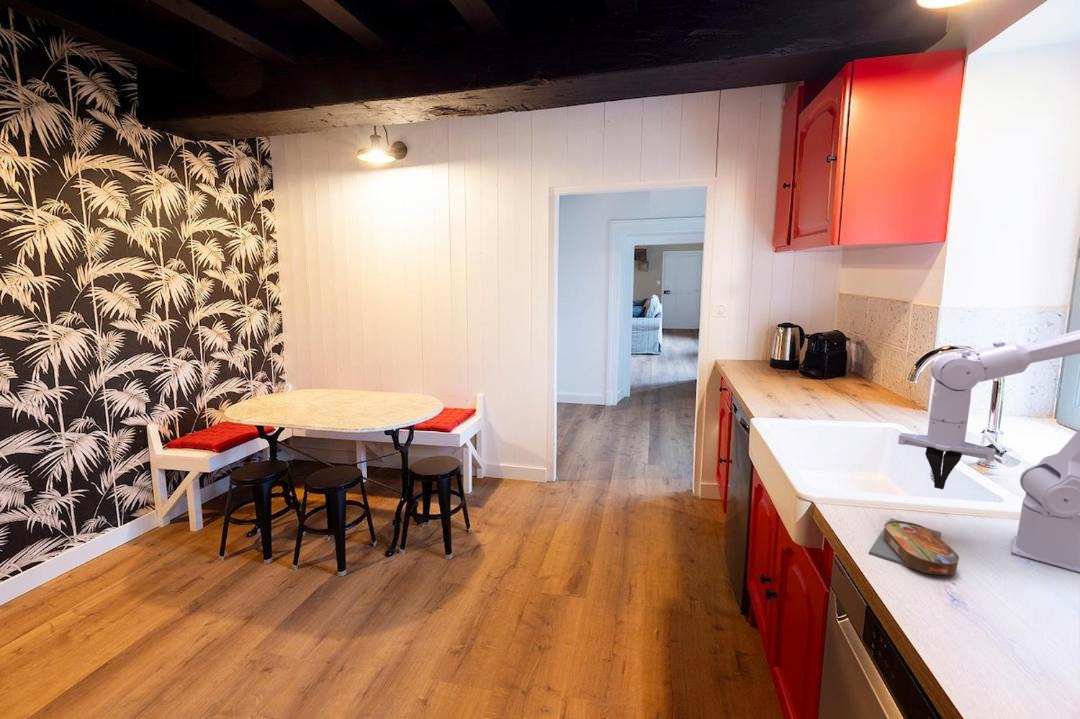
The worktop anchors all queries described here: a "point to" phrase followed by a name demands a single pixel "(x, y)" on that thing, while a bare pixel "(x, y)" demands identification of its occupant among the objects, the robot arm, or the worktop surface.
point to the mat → (889, 548)
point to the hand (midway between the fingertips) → (939, 487)
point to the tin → (921, 548)
